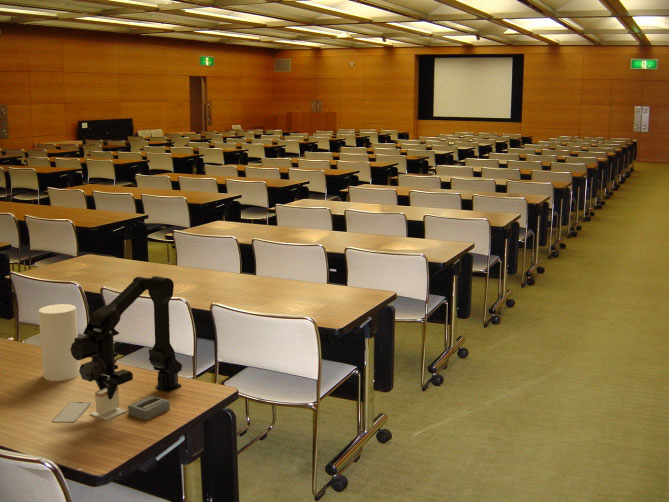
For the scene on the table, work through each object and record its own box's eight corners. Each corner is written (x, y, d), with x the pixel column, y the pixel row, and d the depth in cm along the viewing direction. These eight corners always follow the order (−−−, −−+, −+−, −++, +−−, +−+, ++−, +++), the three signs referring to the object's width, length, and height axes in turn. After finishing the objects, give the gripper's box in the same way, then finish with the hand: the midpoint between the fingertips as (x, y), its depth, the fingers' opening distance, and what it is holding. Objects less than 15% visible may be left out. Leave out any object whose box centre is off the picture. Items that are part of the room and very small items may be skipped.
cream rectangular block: (114, 405, 227) (113, 384, 226) (119, 407, 226) (118, 386, 224) (96, 412, 221) (95, 392, 220) (101, 414, 220) (100, 393, 218)
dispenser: (152, 403, 231) (151, 394, 230) (169, 409, 227) (169, 399, 226) (128, 414, 223) (127, 404, 222) (146, 420, 219) (145, 410, 218)
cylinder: (78, 379, 252) (73, 312, 247) (40, 382, 249) (35, 314, 244) (82, 367, 263) (77, 303, 259) (46, 370, 261) (41, 305, 256)
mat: (109, 406, 229) (109, 404, 229) (126, 411, 225) (126, 410, 225) (89, 414, 222) (89, 413, 222) (106, 420, 218) (106, 419, 218)
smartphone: (50, 421, 217) (69, 402, 231) (50, 423, 217) (69, 403, 231) (74, 422, 216) (92, 402, 231) (74, 424, 217) (92, 404, 231)
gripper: (63, 352, 218) (66, 399, 221) (103, 364, 208) (106, 413, 211) (93, 343, 227) (96, 388, 230) (132, 353, 217) (135, 401, 220)
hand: (107, 398), depth 223 cm, fingers closed on cream rectangular block, 2 cm apart
